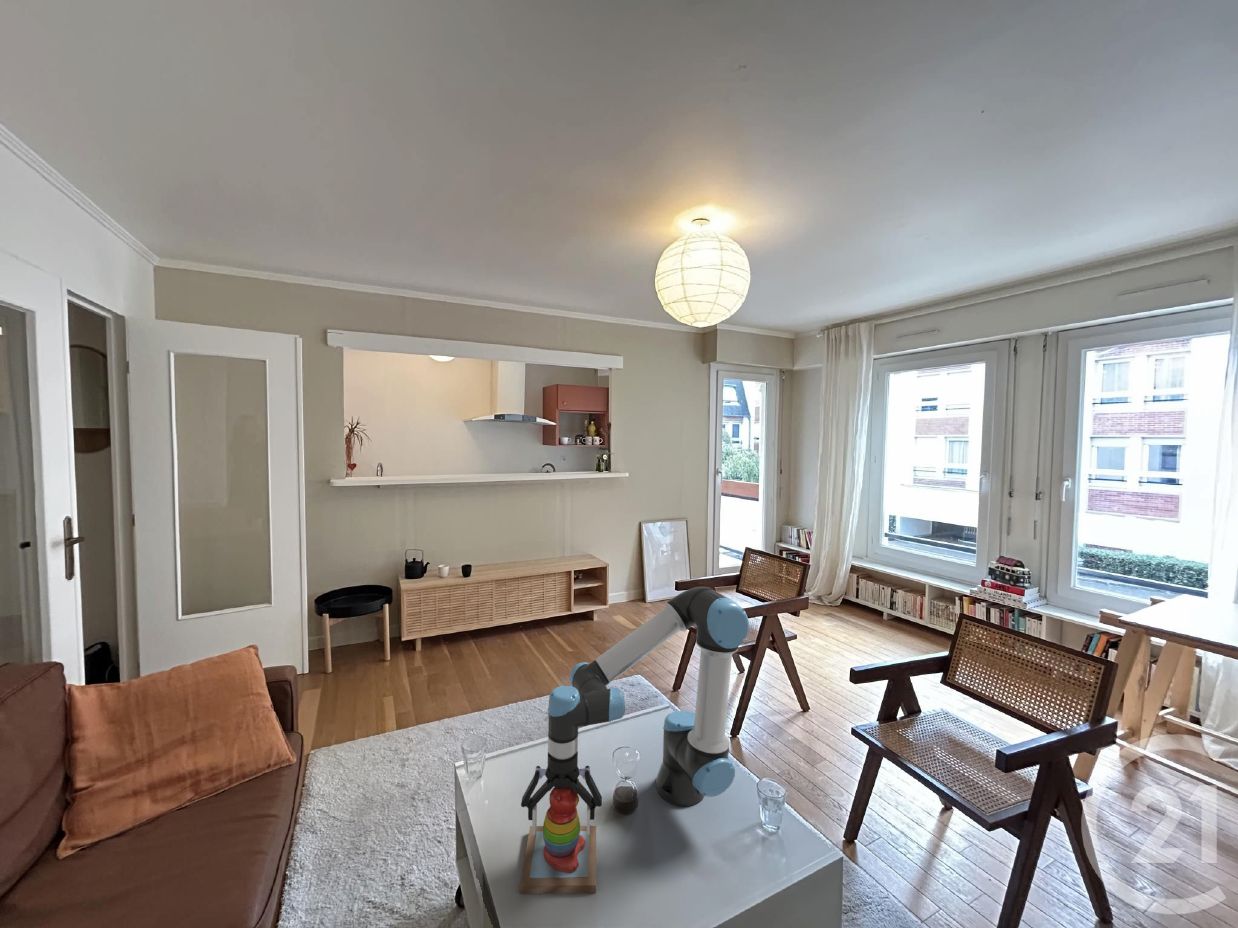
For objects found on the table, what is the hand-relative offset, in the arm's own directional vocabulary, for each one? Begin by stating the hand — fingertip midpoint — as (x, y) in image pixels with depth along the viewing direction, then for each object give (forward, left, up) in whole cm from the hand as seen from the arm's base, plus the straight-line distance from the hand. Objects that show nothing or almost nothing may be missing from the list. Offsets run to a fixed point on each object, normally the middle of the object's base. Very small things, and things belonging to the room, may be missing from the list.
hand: (561, 830), depth 129 cm
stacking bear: (0, 0, -6) cm, 6 cm away
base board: (0, 0, -8) cm, 8 cm away
